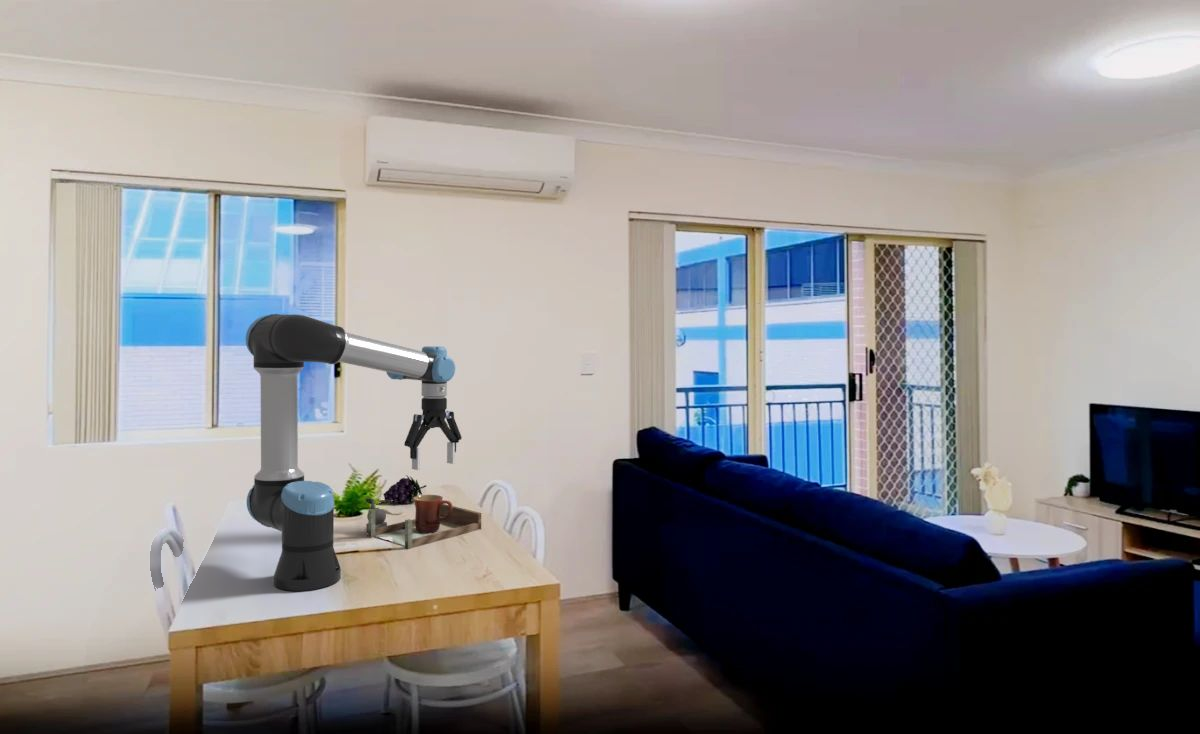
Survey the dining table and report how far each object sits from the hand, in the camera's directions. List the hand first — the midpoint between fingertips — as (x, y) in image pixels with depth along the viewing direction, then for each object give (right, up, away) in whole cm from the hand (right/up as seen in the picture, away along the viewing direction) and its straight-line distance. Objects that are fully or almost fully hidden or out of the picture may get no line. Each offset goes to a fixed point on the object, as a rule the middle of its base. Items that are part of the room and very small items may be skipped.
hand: (433, 466), depth 222 cm
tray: (-5, -20, +1) cm, 20 cm away
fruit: (-19, -18, +37) cm, 45 cm away
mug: (-1, -20, +1) cm, 20 cm away
